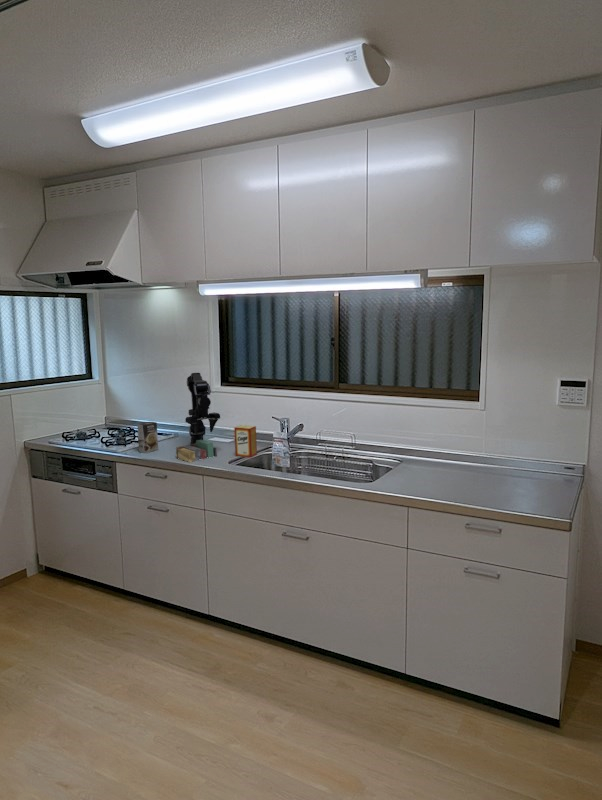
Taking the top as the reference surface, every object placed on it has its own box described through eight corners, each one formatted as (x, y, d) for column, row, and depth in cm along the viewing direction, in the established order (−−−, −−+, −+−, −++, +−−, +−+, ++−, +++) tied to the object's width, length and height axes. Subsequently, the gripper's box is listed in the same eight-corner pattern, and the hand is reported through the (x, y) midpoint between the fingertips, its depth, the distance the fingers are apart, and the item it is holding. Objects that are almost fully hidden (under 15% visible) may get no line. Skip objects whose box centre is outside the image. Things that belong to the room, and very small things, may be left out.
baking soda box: (256, 454, 303) (255, 425, 300) (251, 457, 297) (249, 428, 294) (241, 453, 306) (240, 424, 304) (235, 456, 300) (234, 426, 298)
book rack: (203, 452, 310) (203, 441, 309) (216, 456, 301) (216, 445, 300) (176, 458, 299) (176, 447, 298) (189, 462, 290) (188, 451, 289)
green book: (202, 453, 308) (201, 439, 306) (213, 457, 300) (212, 442, 298) (196, 454, 305) (196, 440, 304) (208, 458, 297) (207, 443, 296)
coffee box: (145, 453, 311) (143, 425, 309) (138, 451, 315) (136, 423, 313) (159, 449, 318) (157, 422, 316) (151, 448, 322) (149, 421, 320)
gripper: (208, 401, 310) (209, 428, 313) (179, 405, 298) (180, 434, 300) (220, 403, 302) (221, 431, 305) (190, 407, 290) (192, 437, 292)
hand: (203, 433), depth 300 cm, fingers open, 9 cm apart
